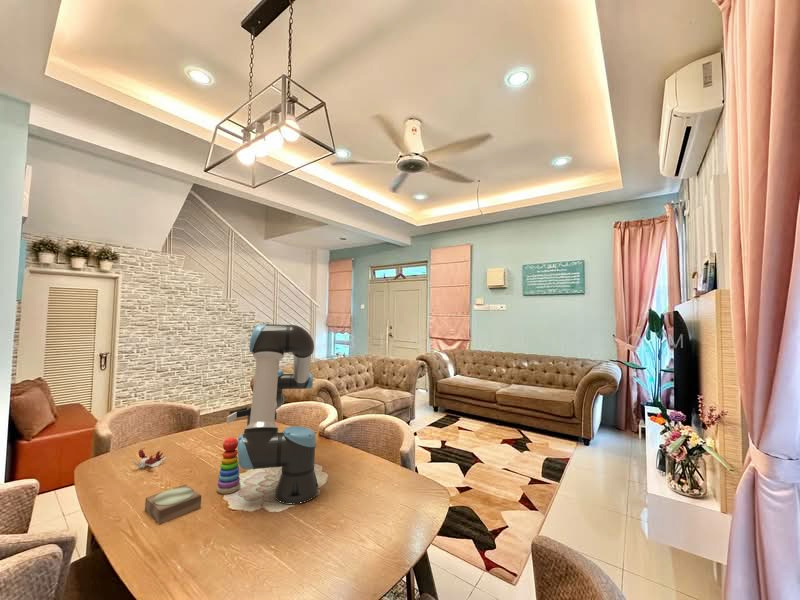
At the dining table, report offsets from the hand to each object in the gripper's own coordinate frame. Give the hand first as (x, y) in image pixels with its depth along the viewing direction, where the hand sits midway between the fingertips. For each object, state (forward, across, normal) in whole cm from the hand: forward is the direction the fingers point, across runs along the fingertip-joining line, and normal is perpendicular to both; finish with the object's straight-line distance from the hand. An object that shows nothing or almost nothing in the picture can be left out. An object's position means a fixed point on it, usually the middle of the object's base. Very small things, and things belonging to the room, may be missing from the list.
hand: (244, 420), depth 138 cm
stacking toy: (+10, 0, -22) cm, 24 cm away
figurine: (-6, +41, -23) cm, 47 cm away
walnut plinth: (+24, +11, -22) cm, 35 cm away
